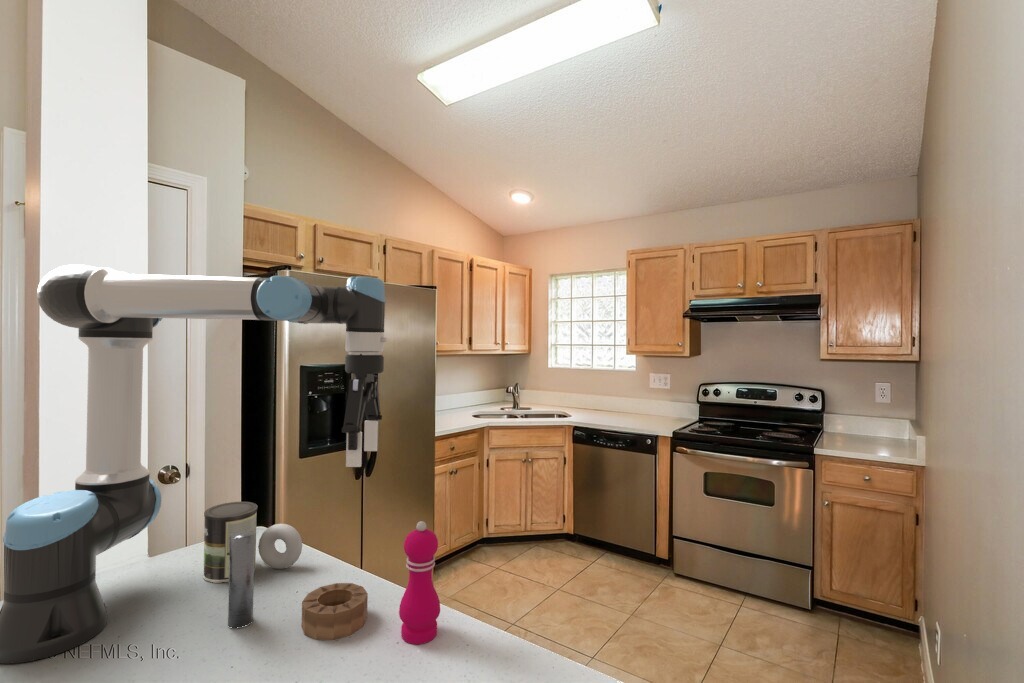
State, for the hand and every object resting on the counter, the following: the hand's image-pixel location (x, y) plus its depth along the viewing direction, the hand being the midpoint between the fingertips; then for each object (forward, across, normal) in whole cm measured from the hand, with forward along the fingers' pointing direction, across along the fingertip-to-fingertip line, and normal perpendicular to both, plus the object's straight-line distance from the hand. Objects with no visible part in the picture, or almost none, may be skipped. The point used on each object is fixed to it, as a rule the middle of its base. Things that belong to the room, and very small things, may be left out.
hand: (362, 458), depth 101 cm
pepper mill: (+28, -13, -14) cm, 34 cm away
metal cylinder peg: (+28, -9, +19) cm, 35 cm away
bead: (+28, -9, +2) cm, 30 cm away
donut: (+28, +13, +21) cm, 37 cm away
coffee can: (+28, +11, +31) cm, 43 cm away
